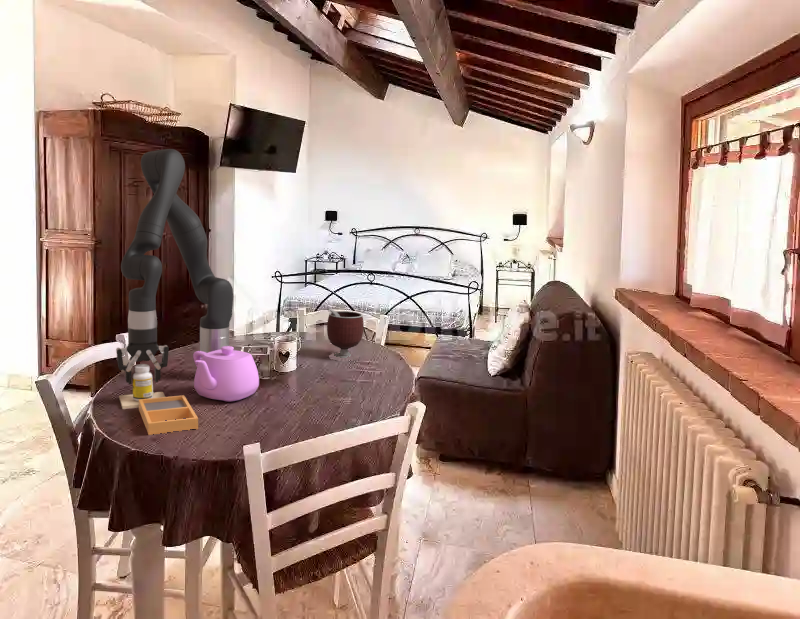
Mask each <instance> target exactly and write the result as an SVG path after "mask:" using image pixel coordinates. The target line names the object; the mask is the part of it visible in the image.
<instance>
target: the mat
mask: <svg viewBox="0 0 800 619" xmlns="http://www.w3.org/2000/svg"><path fill="white" fill-rule="evenodd" d="M160 397H166V396H165V392H163V391H156V392H154V391H153V398H160ZM118 399H119V403H120V405H121V409H122V410H126V409H129V410H130V409H135V408H136V409H137V408H138V409H139V401H135V400H134V399H133V393H132V394H123V395H119V396H118Z"/></svg>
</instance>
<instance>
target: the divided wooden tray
mask: <svg viewBox="0 0 800 619" xmlns="http://www.w3.org/2000/svg"><path fill="white" fill-rule="evenodd" d="M138 411H139V413H140V416H141V419H142V421H143V424H144V426H145V429H146V433H147V434H148V436H152V435H153V434H154V435H160V433H162V434H168V433H167V432H171V433H174V432H173V431H179V432H183V431H182V430H188V431H191V430H190V429H196V430H199V417H198V416H197V413H195V410H194V409H193V407H192V406H191V404H190V403H189V401H188V399H187V397H186V396H185V395H184V394H183V395H182V394H181V395H174V396H172V395H170V396H165V397H160V398H149V399H139V408H138ZM183 418H186V419H183ZM175 419H176V420H175ZM165 420H167V421H165ZM154 435H153V436H154Z"/></svg>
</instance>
